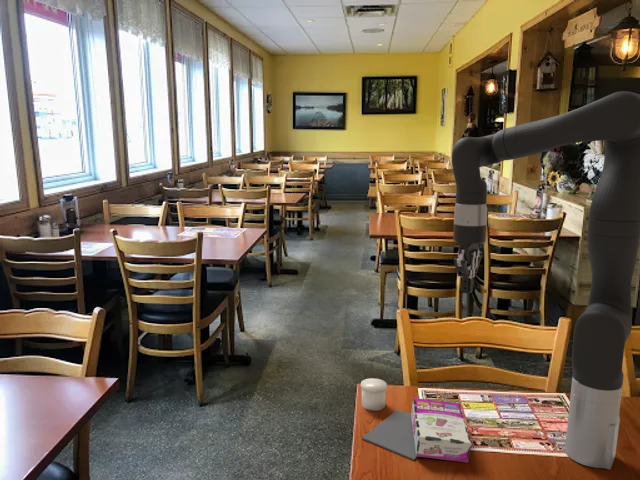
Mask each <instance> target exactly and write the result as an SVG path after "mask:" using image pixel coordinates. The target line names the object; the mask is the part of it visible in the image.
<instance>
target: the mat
mask: <svg viewBox="0 0 640 480" xmlns="http://www.w3.org/2000/svg"><path fill="white" fill-rule="evenodd" d="M361 439H362V440H363V441H366V442H369V443H371V444H373V445H374V446H375V445H376V446H377V447H380V448H383V449H386V450H387V451H389V452H392V453H395V454H396V455H399V456H401V457H404V458H407V459H409V460H410V461H411V460H412V461H415V460H416V459H417V458H419V456H416V452H415V444H414V435H413V427H412V419H411V413H409V412H406V411H403V410H402V409H401V410H400V409H396V410H395V411H394V412H392V413H391V414H390V415H389V416H387V417H386V418H385V419H384V420H383V421H381V422H380V423H378V424H377V425H375V427H374V428H372V429H371V430H370V431H368V432H367V433H366V434H364V435H363V436H362V438H361Z"/></svg>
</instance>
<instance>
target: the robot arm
mask: <svg viewBox="0 0 640 480" xmlns="http://www.w3.org/2000/svg"><path fill="white" fill-rule="evenodd" d="M597 141H600V142H601V141H604V159H603V166H602V171H601V175H600V177H599V179H598V183H597V184H596V185H597V186H596V187H595V190H594V194H593V196H592V199H591V202H590V206H589V212H588V221H587V222H588V223H587V232H586V233H587V234H586V244H587V253H588V258H589V265H590V270H591V283H590V284H591V285H590V291H589V295H588V296H589V297H588V302H587V306H586V309H585V311H584V312H583V313H582V314H580V316H579V317H578V318H577V319H576V321H575V324H574V329H573V335H572V336H573V338H572V350H571V351H572V353H571V366H572V379H571V387H570V388H571V389H570V397H569V404H568V405H569V406H568V407H569V409H568V416H567V417H568V418H567V426H566V435H565V443H564V444H565V445H564V451H565V454H566V455H567V456H568V457H569V458H570V459H571V460H573V461H574V462H576V463H579V464H580V465H583V466H586V467H590V468H595V469H606V470H609V471H610V470H611V469H612V467H613V464H614V461H615V458H616V453H617V445H618V437H619V429H620V428H619V427H620V419H621V416H620V407H621V399H622V392H623V385H624V383H623V382H624V372H623V362H624V355H625V347H626V346H625V345H626V342H627V341H628V339H629V337H630V336H631V332H632V326H633V324H632V323H633V322H632V321H633V319H632V282H633V276H634V272H635V269H636V268H635V267H636V264H637V259H638V258H637V257H638V252H639V251H638V250H639V246H640V245H639V244H640V94H639V93H636V92H632V91H627V90H625V91H615V92H613V93H611V94H608V95H606V96H604V97H602V98H599V99H597V100H595V101H592V102H590V103H588V104H586V105H583V106H581V107H578V108H576V109H573V110H570V111H568V112H564V113H561V114H559V115H558V114H557V115H555V116H550V117H547V118H543V119H539V120H534V121H530V122H526V123H522V124H518V125H514V126H510V127H506V128H502V129H501V130H498V131H497V132H495V133H493V134H488V135H485V136H480V137H473V136H465V137H462V138H460V139H458V140H457V141H456V142H455V144H454V146H453V148H452V152H451V167H452V171H453V176H454V181H455V185H456V188H455V207H454V212H453V213H454V214H453V235H452V237H453V238H452V239H453V241H454V242H455V243H458V244H459V246H458V251H457V258H456V257H455V258H453V264H454V265H453V266H454V268H455V271H456V274H457V276H458V277H460V278H461V293H463V294H471V293H473V290H474V289H473V285H474V278H475V276H476V275H475V274H478V271H479V268H480V265H481V264H480V263H481V262H482V261H481V260H482V258H483V252H482V251H480V245H481V244H483V243H485V242H486V241H487V239H486V238H487V223H488V221H487V219H488V210H487V199H488V198H487V197H488V196H487V195H488V186H487V182H486V180H484V179H483V178H482V177H481V171H480V170H481V168H482V167H484V168H485V167H488V166H491V165H494V164H498V163H500V162H503V161H510V160H511V161H512V160H517V159H521V158H526V157H530V156H534V155H537V154H542V153H545V152H547V151H548V152H549V151H551V150H554V149H556V148H559V147H560V148H561V147H562V146H567V145H572V144H576V143H583V142H585V143H586V142H597Z"/></svg>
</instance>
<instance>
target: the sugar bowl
mask: <svg viewBox="0 0 640 480" xmlns="http://www.w3.org/2000/svg"><path fill="white" fill-rule="evenodd" d="M360 388H361V407H362V408H364V409H366V410H369V411H380V410H381V411H382V410H383V409H385V406H386V390H387V388H388V383H387V382H386V381H385V380H383V379H380V378H373V377H372V378H371V377H369V378H365V379H363V380H361V382H360Z"/></svg>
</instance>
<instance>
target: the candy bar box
mask: <svg viewBox="0 0 640 480" xmlns="http://www.w3.org/2000/svg"><path fill="white" fill-rule="evenodd" d="M411 405H412V407H411V412H410V414H411V419H412V427H413V435H414V444H415V452H416V456H418V458H419V457H421V458H430V459H437V460H443V461H444V460H445V461H451V462H452V461H453V462H459V463H460V462H461V463H469V460H470V459H469V457H470V453H471V448H472V441H471V438H470V436H469V432H468V428H467V425H466V421H465V418H464V415H463V411H462V407H461V405H460V402H459V403H457V402H449V401H440V400H433V399H425V398H424V399H423V398H418V397H413V400H412V404H411Z"/></svg>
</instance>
